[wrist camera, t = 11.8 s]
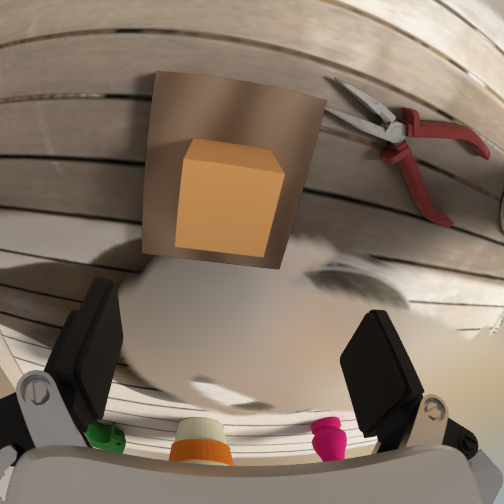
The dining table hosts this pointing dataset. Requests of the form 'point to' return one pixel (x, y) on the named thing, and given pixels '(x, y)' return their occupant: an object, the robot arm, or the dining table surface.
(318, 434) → the pepper mill
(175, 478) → the robot arm
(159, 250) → the board
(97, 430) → the clamp
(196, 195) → the matte orange cube
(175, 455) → the reusable coffee cup
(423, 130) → the pliers
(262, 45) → the dining table surface
